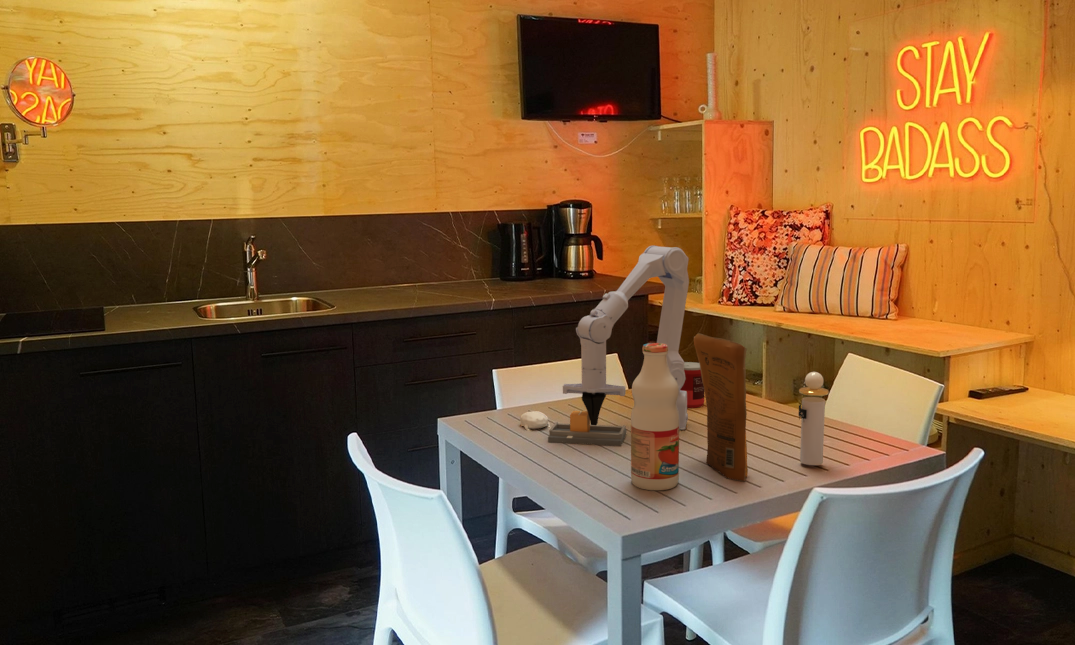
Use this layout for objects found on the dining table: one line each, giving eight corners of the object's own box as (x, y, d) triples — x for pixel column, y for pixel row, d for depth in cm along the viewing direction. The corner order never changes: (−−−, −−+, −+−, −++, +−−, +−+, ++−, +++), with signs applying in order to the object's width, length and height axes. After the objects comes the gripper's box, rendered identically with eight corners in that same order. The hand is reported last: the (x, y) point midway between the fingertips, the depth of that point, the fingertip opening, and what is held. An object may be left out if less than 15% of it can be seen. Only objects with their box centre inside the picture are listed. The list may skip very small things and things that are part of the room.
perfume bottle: (821, 460, 179) (824, 368, 176) (829, 469, 173) (833, 374, 170) (793, 460, 179) (796, 369, 176) (801, 469, 174) (804, 375, 171)
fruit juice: (637, 473, 173) (637, 339, 169) (683, 478, 170) (684, 341, 166) (625, 488, 165) (625, 348, 160) (672, 494, 161) (674, 350, 157)
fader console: (626, 433, 201) (626, 423, 201) (620, 446, 192) (620, 435, 191) (557, 430, 205) (557, 420, 205) (548, 442, 196) (547, 432, 195)
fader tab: (590, 429, 200) (589, 411, 199) (587, 434, 196) (586, 415, 196) (573, 428, 201) (573, 410, 200) (570, 433, 197) (570, 414, 197)
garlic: (554, 429, 207) (554, 414, 206) (529, 433, 204) (529, 418, 203) (540, 421, 214) (540, 407, 213) (516, 425, 211) (515, 410, 210)
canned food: (673, 400, 231) (674, 361, 230) (703, 401, 230) (704, 362, 229) (674, 408, 224) (674, 367, 222) (705, 408, 223) (705, 368, 221)
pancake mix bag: (727, 486, 165) (730, 345, 161) (689, 456, 183) (690, 330, 179) (759, 483, 166) (762, 343, 162) (718, 454, 185) (720, 328, 180)
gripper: (559, 370, 193) (560, 427, 195) (622, 372, 190) (622, 430, 192) (565, 363, 200) (566, 419, 202) (626, 365, 197) (626, 422, 199)
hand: (594, 424), depth 198 cm, fingers closed
